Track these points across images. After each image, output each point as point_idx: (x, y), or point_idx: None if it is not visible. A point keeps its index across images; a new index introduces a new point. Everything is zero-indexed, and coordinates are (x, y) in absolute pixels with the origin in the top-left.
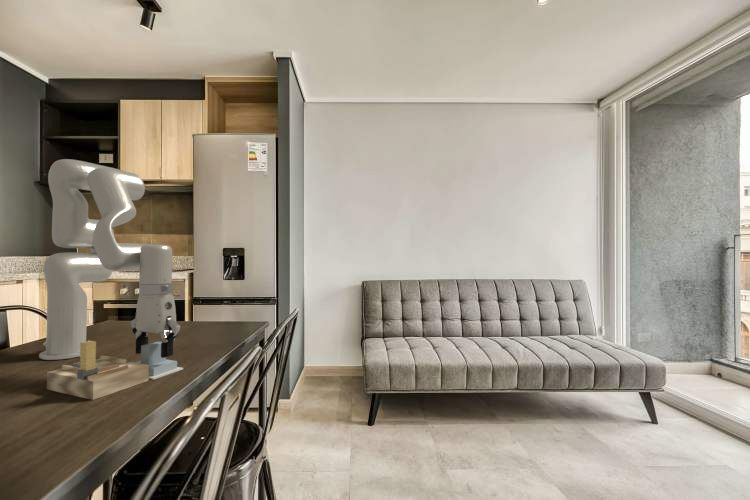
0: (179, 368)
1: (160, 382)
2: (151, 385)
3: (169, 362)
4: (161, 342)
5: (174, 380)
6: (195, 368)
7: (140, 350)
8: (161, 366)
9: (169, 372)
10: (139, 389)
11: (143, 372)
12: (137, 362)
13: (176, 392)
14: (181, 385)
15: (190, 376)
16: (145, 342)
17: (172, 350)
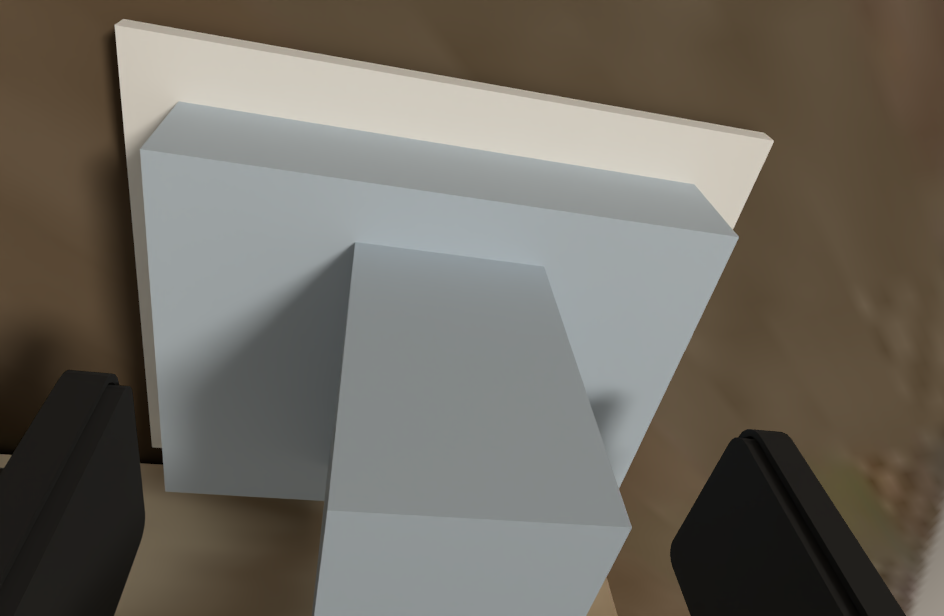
0: (732, 180)
1: (701, 472)
2: (664, 527)
3: (655, 319)
4: (503, 550)
5: (806, 414)
6: (914, 9)
7: (127, 534)
8: (635, 441)
9: None
10: (625, 586)
11: None
12: (188, 419)
13: (920, 561)
14: (914, 476)
15: (932, 297)
16: (60, 604)
17: (816, 495)
